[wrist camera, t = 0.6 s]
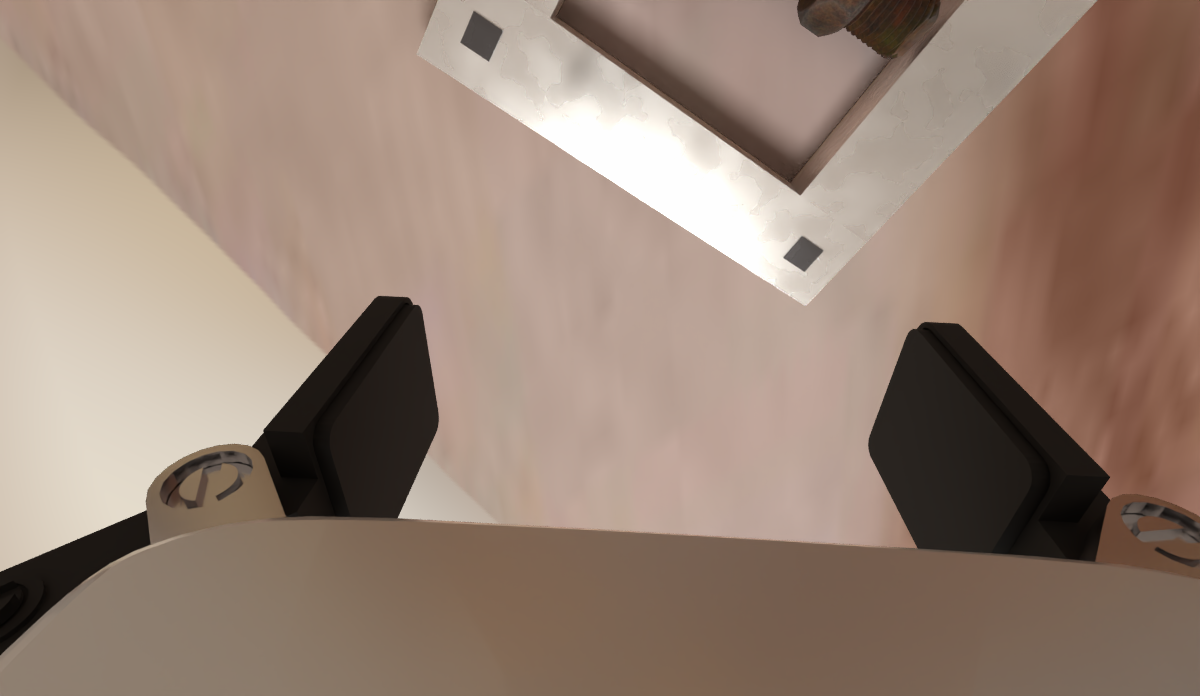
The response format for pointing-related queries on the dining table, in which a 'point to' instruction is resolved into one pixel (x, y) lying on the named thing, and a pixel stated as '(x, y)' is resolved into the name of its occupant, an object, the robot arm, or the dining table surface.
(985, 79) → the plate
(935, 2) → the bolt
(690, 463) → the dining table surface
